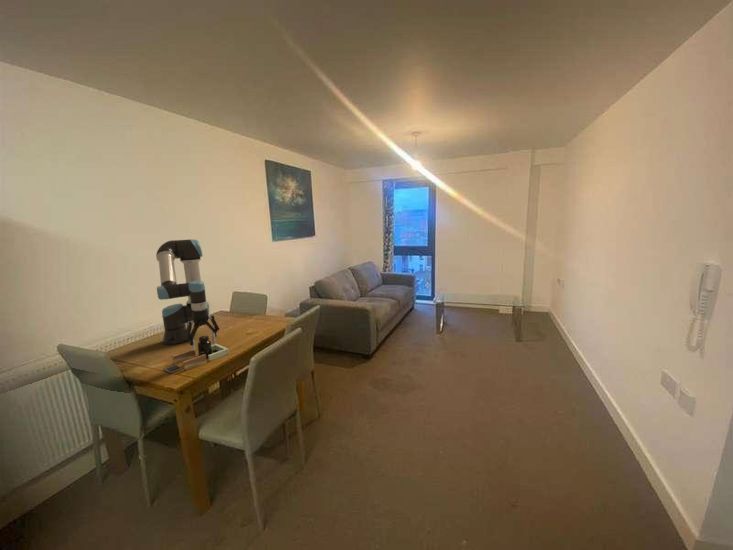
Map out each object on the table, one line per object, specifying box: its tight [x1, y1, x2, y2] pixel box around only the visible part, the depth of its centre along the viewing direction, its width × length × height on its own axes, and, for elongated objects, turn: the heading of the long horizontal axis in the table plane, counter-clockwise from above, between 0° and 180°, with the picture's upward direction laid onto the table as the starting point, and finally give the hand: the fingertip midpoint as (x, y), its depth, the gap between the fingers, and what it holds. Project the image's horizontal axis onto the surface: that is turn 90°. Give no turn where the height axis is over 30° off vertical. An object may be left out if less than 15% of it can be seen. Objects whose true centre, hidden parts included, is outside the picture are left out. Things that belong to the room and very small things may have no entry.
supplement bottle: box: [197, 335, 213, 360], centre depth 172 cm, size 7×7×12 cm
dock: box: [197, 343, 230, 362], centre depth 176 cm, size 14×11×3 cm
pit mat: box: [163, 364, 184, 375], centre depth 160 cm, size 8×6×1 cm
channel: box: [172, 349, 208, 371], centre depth 166 cm, size 14×11×4 cm
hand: (204, 346), depth 172 cm, fingers open, 10 cm apart
